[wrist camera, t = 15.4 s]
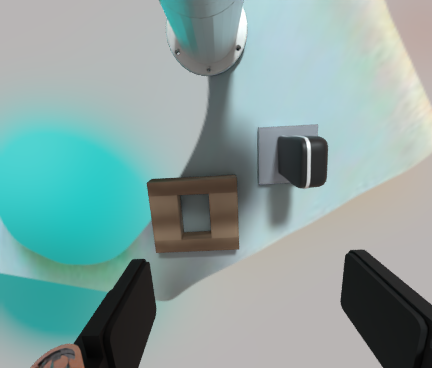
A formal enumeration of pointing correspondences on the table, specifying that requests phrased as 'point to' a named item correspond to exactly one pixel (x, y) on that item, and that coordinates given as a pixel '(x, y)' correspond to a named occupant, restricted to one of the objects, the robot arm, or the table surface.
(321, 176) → the battery charger
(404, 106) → the table surface
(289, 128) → the tile
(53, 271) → the table surface
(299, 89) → the table surface
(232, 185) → the holder
